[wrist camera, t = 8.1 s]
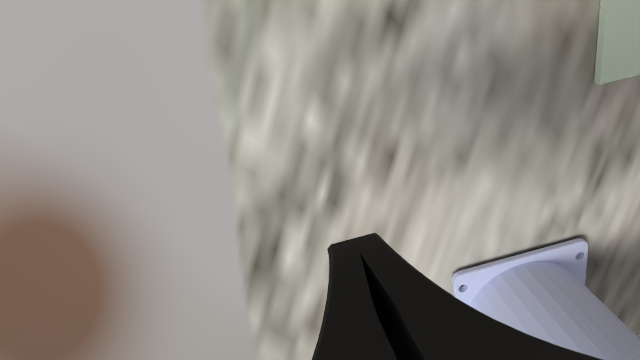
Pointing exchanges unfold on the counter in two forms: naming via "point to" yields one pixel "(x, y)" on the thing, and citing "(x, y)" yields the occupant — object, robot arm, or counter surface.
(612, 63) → the sage mat
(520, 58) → the counter surface
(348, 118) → the counter surface
